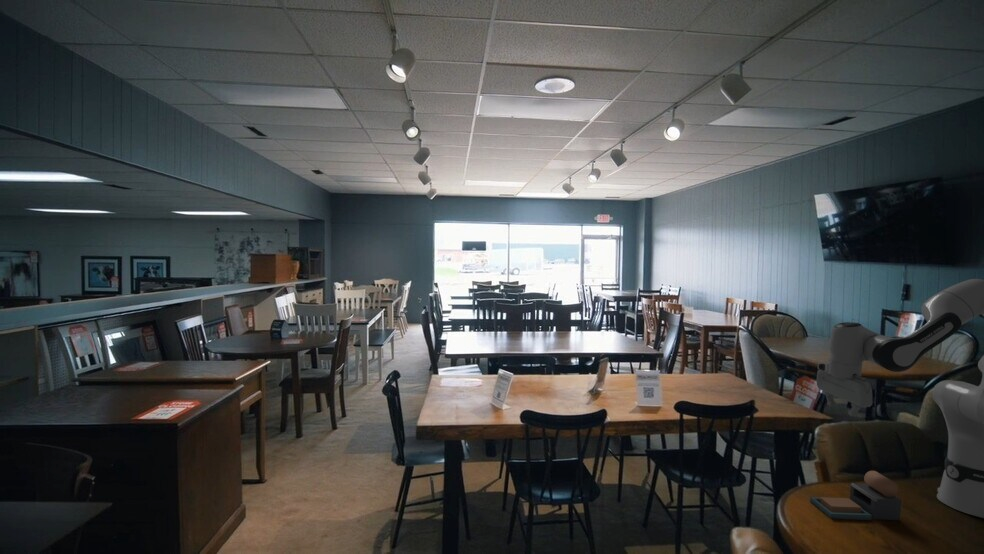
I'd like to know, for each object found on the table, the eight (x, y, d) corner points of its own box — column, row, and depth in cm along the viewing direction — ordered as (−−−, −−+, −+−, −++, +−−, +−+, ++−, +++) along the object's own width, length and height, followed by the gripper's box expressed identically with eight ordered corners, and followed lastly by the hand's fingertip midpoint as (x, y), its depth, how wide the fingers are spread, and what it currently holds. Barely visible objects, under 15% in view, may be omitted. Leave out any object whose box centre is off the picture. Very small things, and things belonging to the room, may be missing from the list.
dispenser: (874, 503, 142) (877, 469, 142) (899, 520, 133) (902, 483, 133) (849, 502, 142) (852, 468, 142) (872, 519, 133) (875, 482, 133)
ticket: (848, 504, 140) (848, 498, 140) (861, 513, 135) (861, 507, 135) (819, 503, 141) (820, 497, 141) (831, 512, 136) (831, 506, 136)
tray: (847, 503, 142) (848, 498, 142) (871, 520, 133) (871, 515, 133) (809, 501, 142) (810, 497, 142) (830, 518, 133) (831, 513, 133)
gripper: (880, 379, 138) (877, 422, 139) (831, 363, 158) (829, 400, 159) (859, 379, 138) (856, 422, 139) (813, 362, 159) (811, 400, 159)
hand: (841, 410), depth 149 cm, fingers open, 8 cm apart
